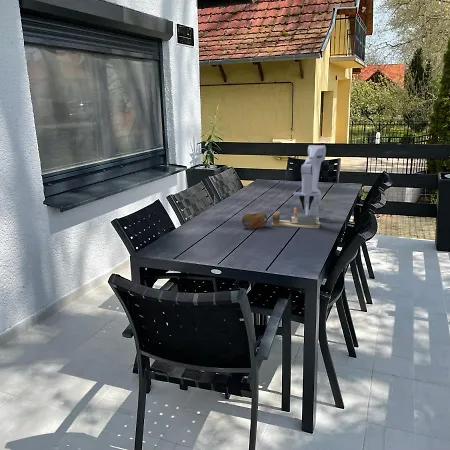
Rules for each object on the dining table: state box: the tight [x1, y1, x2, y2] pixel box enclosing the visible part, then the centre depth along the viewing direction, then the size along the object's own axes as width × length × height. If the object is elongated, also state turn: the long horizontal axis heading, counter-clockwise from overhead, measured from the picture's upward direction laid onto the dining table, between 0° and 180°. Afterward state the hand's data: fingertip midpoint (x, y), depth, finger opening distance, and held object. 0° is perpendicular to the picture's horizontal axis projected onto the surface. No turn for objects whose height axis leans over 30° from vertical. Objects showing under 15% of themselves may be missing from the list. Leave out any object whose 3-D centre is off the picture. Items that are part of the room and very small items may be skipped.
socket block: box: [272, 211, 281, 224], centre depth 266 cm, size 7×3×5 cm, turn 165°
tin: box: [240, 211, 268, 229], centre depth 260 cm, size 15×3×8 cm, turn 105°
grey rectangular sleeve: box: [297, 214, 316, 225], centre depth 262 cm, size 5×10×4 cm, turn 75°
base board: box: [270, 219, 321, 229], centre depth 264 cm, size 10×26×1 cm, turn 75°
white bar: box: [289, 206, 320, 223], centre depth 262 cm, size 3×16×8 cm, turn 75°
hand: (306, 209), depth 260 cm, fingers open, 3 cm apart
